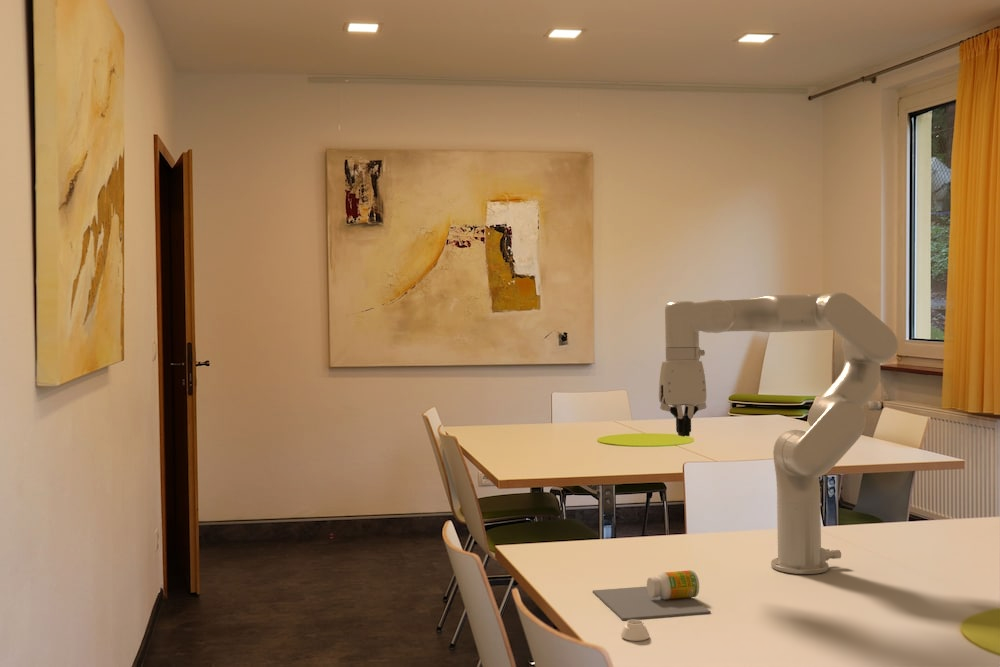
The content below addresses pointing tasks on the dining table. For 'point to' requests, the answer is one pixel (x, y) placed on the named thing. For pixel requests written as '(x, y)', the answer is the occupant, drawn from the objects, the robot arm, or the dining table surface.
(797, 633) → the dining table surface
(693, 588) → the supplement bottle
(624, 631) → the lidless jar
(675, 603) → the felt mat
